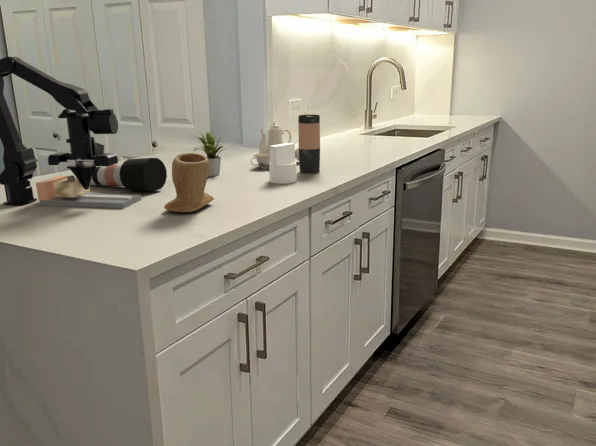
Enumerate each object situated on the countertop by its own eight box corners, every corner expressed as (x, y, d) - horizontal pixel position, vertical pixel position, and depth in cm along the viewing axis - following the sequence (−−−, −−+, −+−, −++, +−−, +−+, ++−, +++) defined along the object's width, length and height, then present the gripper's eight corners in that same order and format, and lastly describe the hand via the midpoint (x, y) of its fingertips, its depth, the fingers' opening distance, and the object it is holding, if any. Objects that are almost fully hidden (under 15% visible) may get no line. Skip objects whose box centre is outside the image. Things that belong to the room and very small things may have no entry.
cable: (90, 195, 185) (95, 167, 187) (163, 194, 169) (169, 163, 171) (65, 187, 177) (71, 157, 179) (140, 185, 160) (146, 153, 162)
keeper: (55, 196, 153) (52, 178, 151) (72, 190, 160) (69, 173, 159) (74, 197, 152) (71, 179, 150) (90, 191, 159) (88, 173, 158)
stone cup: (198, 217, 139) (194, 159, 134) (158, 214, 142) (153, 157, 138) (225, 203, 152) (222, 150, 148) (188, 200, 156) (184, 148, 152)
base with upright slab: (283, 176, 187) (283, 142, 183) (302, 180, 181) (301, 144, 177) (264, 180, 181) (262, 145, 177) (282, 184, 175) (281, 147, 171)
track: (39, 205, 154) (35, 182, 152) (60, 197, 163) (57, 175, 161) (123, 208, 148) (121, 185, 147) (141, 199, 158) (138, 177, 156)
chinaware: (264, 176, 197) (265, 130, 191) (237, 165, 209) (237, 122, 203) (319, 166, 215) (322, 124, 209) (292, 157, 226) (294, 117, 221)
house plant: (180, 175, 193) (177, 128, 188) (211, 169, 203) (208, 125, 198) (205, 180, 184) (202, 131, 179) (236, 173, 193) (234, 127, 189)
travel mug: (324, 171, 195) (324, 115, 189) (310, 174, 189) (309, 116, 184) (308, 169, 200) (308, 114, 194) (294, 172, 194) (293, 115, 189)
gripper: (124, 131, 156) (130, 184, 160) (67, 130, 160) (74, 182, 164) (104, 136, 146) (110, 192, 150) (42, 135, 149) (50, 190, 154)
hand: (86, 189), depth 155 cm, fingers closed
